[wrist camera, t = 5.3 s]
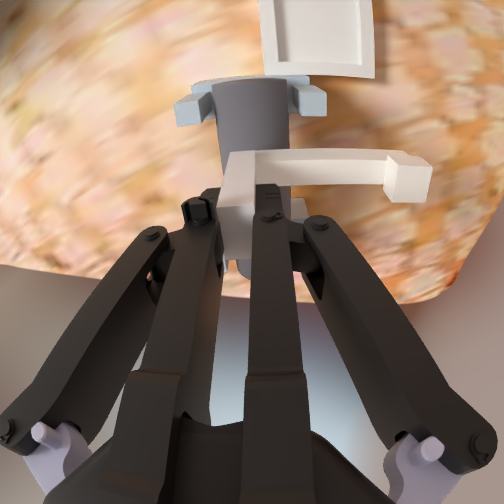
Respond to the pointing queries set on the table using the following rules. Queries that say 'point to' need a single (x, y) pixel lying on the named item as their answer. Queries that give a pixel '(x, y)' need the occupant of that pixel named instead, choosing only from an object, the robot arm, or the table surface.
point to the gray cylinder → (252, 126)
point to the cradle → (299, 101)
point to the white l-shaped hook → (347, 170)
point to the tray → (317, 37)
